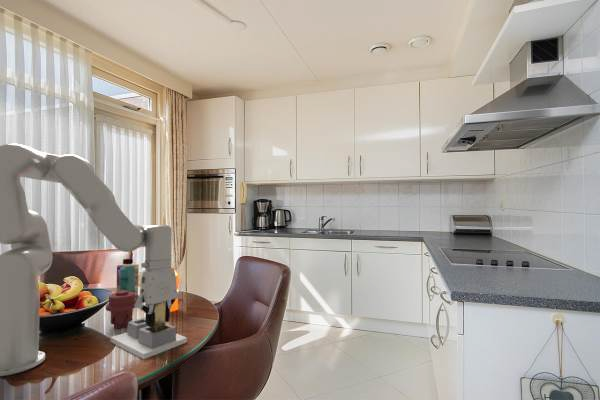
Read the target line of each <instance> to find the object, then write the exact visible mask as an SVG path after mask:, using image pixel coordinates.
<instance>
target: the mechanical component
mask: <svg viewBox="0 0 600 400" xmlns="http://www.w3.org/2000/svg"><path fill="white" fill-rule="evenodd" d="M136 301H137V299H136V296H135V293H134V292H128V291H127V290H123V291H118V292H114V293H112V294H110V295H108V303H107V304H106V305H105V310H106V311H108V312H110V325H113V329H114V330H117V329H119V328H124V327H128V322H131V321H134V320H133V311H134V310H133V309H135V308H136V307H135V306H134V305H135V303H136Z"/></svg>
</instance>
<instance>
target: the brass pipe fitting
mask: <svg viewBox="0 0 600 400" xmlns="http://www.w3.org/2000/svg"><path fill="white" fill-rule="evenodd" d="M152 313H153V314H154V326H153V327H150V332H153V333H155V332H158V331H161V330H164V329H166V324H167V322H166V301H165V302H161V303H157V304H154V307H153V311H152Z"/></svg>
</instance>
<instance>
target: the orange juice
mask: <svg viewBox="0 0 600 400" xmlns="http://www.w3.org/2000/svg"><path fill="white" fill-rule="evenodd" d="M171 267H174V266H173V265H172V263H171ZM174 270H175V275H176V283H177V292H178V293H179V273H178V272H177V270H176V269H175V268H174ZM178 310H179V297H178V298H177V299H176V300H175V302H174V303H173V304H172V307H171V309H170V313H171V312H175V311H178Z"/></svg>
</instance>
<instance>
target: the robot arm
mask: <svg viewBox="0 0 600 400" xmlns="http://www.w3.org/2000/svg"><path fill="white" fill-rule="evenodd" d="M94 168H95V167H93V165H92V163H90V162H89V160H88V159H85V158H83V157H81V156H79V155H76V154H70V153H69V154H67V153H66V154H63V155H58V154H51V153H48V152H42V151H39V150H37V149H34V148H32V147H30V146H27V145H25V144H24V145H23V144H18V143H8V144H7V143H5V144H2V145H0V244H1V245H10V249H9V250H6V251H4V252H3V253H1V254H0V377H6V376H11V375H14V374H15V375H16V374H18V373H21V372H25V371H28V370H30V369H33V368H35V367H37V366H38V365H40V364H41V363H43V362H44V361H45V359H46V353H45V352H44V351H42V350H41V351H40V350H39V349H40V348H39V347H40V345H39V344H40V343H39V341H40V340H39V339H40V337H39V336H40V306H41V305H40V304H41V303H40V301H41V300H40V297H41V296H40V295H41V293H40V287H39V281H38V277H39V276H41V275H43V274H45V273H46V272H47V271H48V270H49V269H50V267H51V266H52V263H53V250H52V244H51V241H50V235H49V229H48V226H47V223H46V220H45V219H44V217H43V216H42V215H41V214H40V213H38V212H36V211H34V210H30V209H29V207H28V203H27V197H26V192H25V190H24V188H23V185H22V182H21V177H22V178H27V179H32V180H39V181H46V182H52V183H57V184H58V183H59V184H61V185H62V186H63V187H64V188H65V189H66V190H67V192H68V193H69V194H70V195H71V196H72V197H73V198H74V199H75V200H76V201H77V203H78V204H79V205H81V207H82V208H83V209H84V210H85V212H86V213H87V216H88V217H89V218H90V219H91V221H92V222H93V224H94V225H95V227H96V228H97V229H98V230H99V232H101V234H102V235H103V236H104V237H105V238H106V239H107V240H108V241H109V242H110V243H111V244H112V245H113V246H114V248H116V249H117V250H118V251H121V252H125V253H130V252H134V251H136V250H137V249H139V248H145V249H144V252H145V255H144V256H145V258H144V259H145V260H144V262H141V264H140V266H141V268H144V269H143V270H142V274H141V279H140V284H139V285H140V286H139V297H138V298H137V299H136V303H135V305H134V306H135V308H137V309H140V310H141V311H142V312H143V313H145V318H146V325H147V326H149V327H153V326H154V314H153V313H152V311H153V307H154V304H157V303H161V302H165V301H166V323H169V322H170V317H171V312H170V309H171V307H172V304H173V303H174V302H175V300H176V299H177V298H178V299H179V297H180V293H179V291H178V292H177V283H176V275H175V271H176V269H175V266H173V267H171V264H172V252H173V251H172V249H173V248H172V247H173V246H172V244H173V243H172V241H173V239H172V237H173V236H172V233H173V231H172V227H171V226H170V225H167V224H164V225H163V224H154V225H140V224H133V223H132V222H131V220H130V219H129V218H128V217H127V216H126V215H125V213H124V212H123V211H122V209H121V208H120V207H119V205H118V203H117V201H116V197H115V195H114V193H113V191H111V189H110V188H109V187H108V186H107V185H106V184H105V182H103V180H102V179H101V178H100V177H99V175H98V174H97V173H96V172H95V169H94ZM174 269H175V270H174ZM143 303H144V304H143Z"/></svg>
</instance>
